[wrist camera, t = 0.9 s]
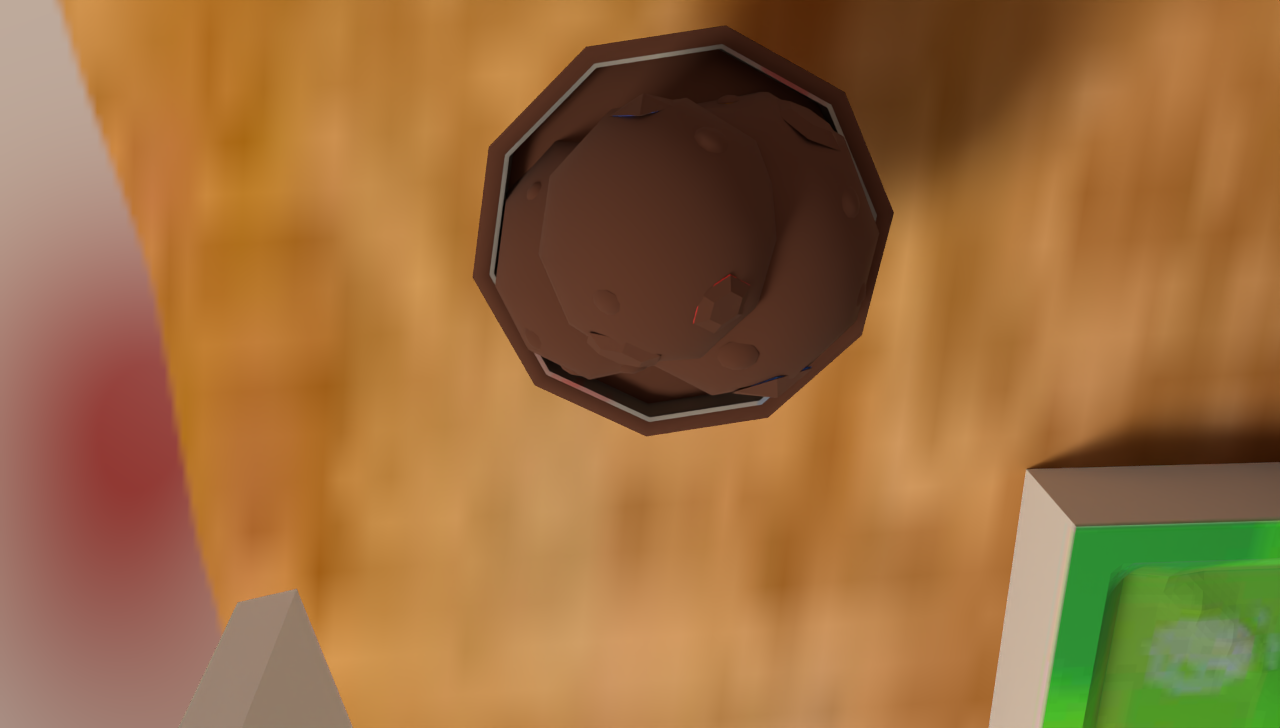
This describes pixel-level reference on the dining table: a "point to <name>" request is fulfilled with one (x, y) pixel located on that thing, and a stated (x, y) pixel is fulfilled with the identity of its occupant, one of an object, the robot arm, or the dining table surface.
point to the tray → (1144, 599)
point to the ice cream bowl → (681, 231)
